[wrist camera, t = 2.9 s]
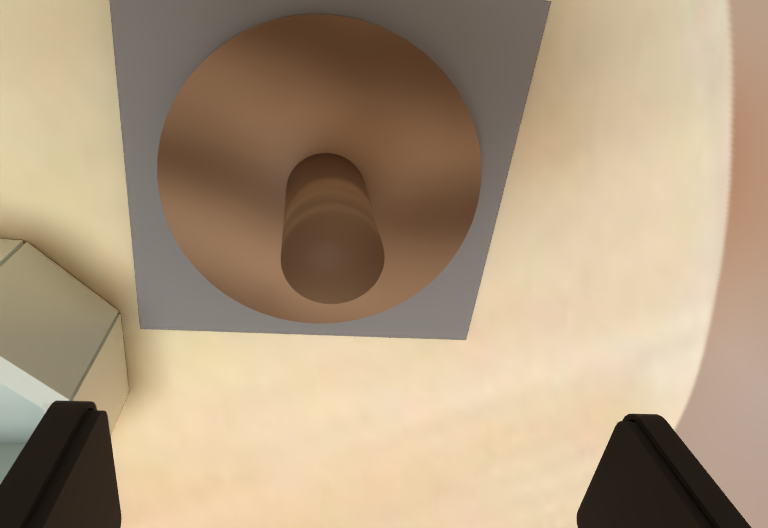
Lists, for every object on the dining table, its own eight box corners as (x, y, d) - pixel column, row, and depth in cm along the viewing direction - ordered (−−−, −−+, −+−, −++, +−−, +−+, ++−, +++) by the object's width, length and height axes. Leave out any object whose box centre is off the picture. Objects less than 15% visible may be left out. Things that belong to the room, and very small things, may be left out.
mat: (109, -68, 18) (102, -69, 18) (545, 0, 21) (551, 1, 20) (143, 321, 25) (140, 328, 25) (462, 333, 28) (465, 340, 28)
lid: (152, -11, 19) (75, -3, 12) (504, 37, 21) (590, 63, 15) (173, 304, 25) (127, 417, 18) (444, 314, 27) (487, 417, 21)
